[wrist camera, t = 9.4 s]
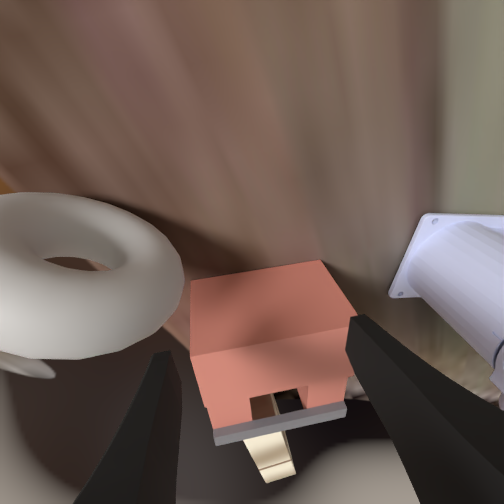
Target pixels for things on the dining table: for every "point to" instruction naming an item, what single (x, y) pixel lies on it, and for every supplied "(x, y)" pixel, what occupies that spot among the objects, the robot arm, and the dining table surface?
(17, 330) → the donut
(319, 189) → the dining table surface
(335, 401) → the dispenser
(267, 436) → the cream block
